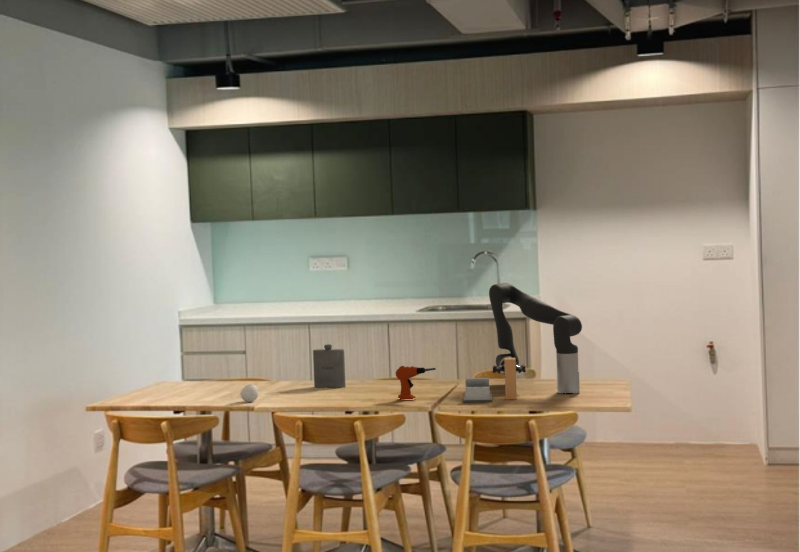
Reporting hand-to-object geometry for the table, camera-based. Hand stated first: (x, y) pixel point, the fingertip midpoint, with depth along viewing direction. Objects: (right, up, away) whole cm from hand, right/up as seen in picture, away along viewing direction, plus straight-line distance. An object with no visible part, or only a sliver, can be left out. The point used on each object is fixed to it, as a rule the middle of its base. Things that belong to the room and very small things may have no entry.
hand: (509, 371), depth 458 cm
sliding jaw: (-14, -10, -4) cm, 17 cm away
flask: (-80, -11, +41) cm, 90 cm away
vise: (-14, -11, -9) cm, 20 cm away
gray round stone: (-112, -14, +6) cm, 114 cm away
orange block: (0, -11, -10) cm, 15 cm away
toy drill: (-40, -12, -4) cm, 42 cm away
